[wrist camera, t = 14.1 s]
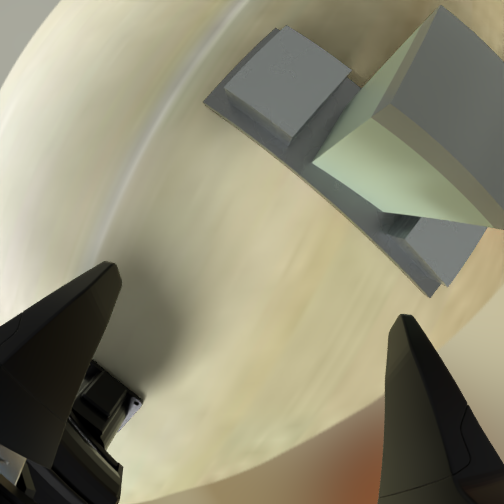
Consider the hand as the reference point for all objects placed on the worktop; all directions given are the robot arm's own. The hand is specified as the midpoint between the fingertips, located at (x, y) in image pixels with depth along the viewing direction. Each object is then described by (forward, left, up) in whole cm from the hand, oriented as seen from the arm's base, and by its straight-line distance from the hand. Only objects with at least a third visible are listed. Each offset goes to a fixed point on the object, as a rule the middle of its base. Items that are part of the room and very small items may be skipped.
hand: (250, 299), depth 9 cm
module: (+9, -2, -11) cm, 15 cm away
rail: (+9, -2, -12) cm, 16 cm away
